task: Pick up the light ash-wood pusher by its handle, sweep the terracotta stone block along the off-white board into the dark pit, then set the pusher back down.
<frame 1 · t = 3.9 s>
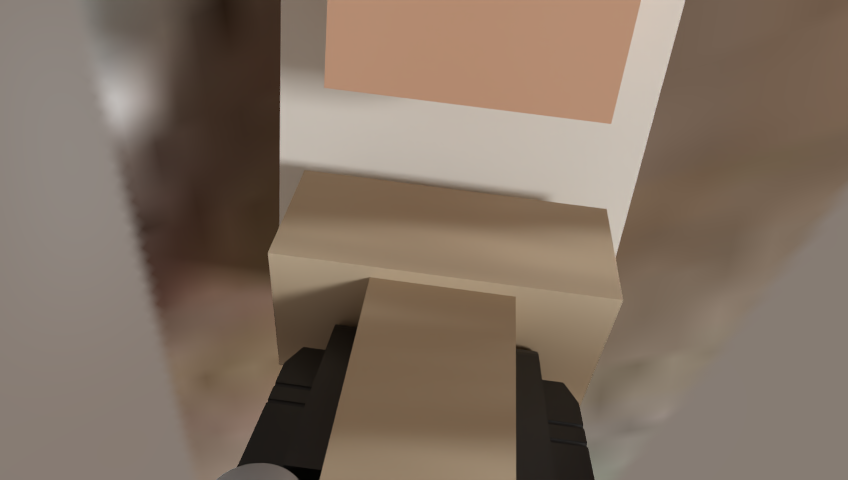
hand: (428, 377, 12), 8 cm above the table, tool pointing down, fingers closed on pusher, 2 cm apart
pusher: (446, 246, 14), point 6 cm above the table, tilted 14°, touching gripper
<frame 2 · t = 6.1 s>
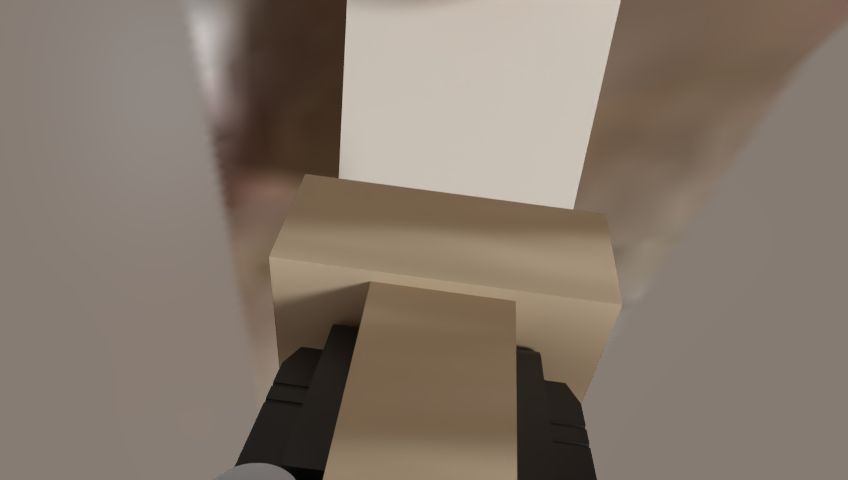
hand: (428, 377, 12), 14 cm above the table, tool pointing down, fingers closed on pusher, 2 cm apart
pusher: (446, 250, 14), point 12 cm above the table, tilted 14°, touching gripper
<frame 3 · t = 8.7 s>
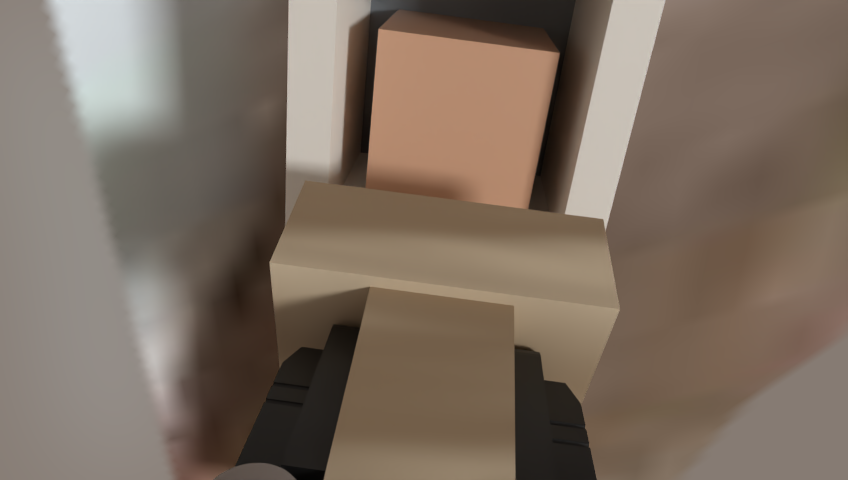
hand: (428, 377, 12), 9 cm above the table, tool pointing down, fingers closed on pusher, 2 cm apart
sweep board: (437, 255, 21), on the table
pusher: (445, 255, 14), point 6 cm above the table, tilted 14°, touching gripper
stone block: (448, 179, 18), point 2 cm above the table, tilted 90°, touching sweep board
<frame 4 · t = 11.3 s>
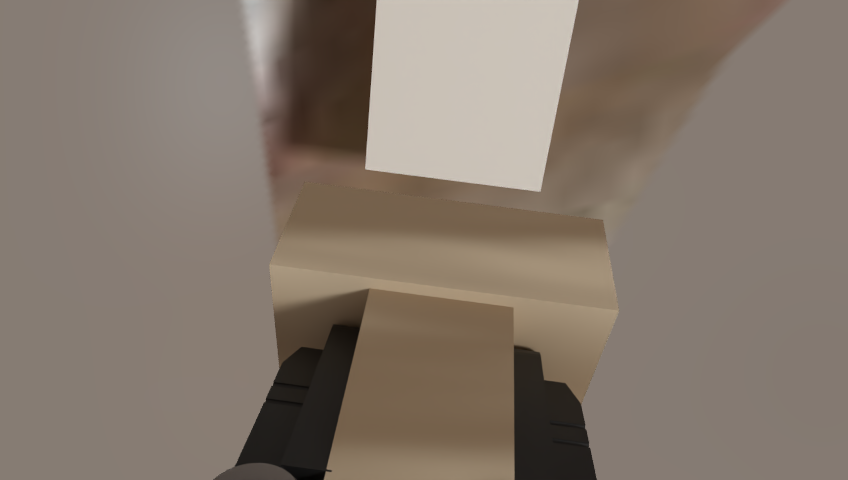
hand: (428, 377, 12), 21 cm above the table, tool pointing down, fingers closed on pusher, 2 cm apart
pusher: (445, 256, 14), point 18 cm above the table, tilted 14°, touching gripper
when the fingers open (9 cm above the table, at t = 13.6 s): pusher drops 2 cm, resting on sweep board.
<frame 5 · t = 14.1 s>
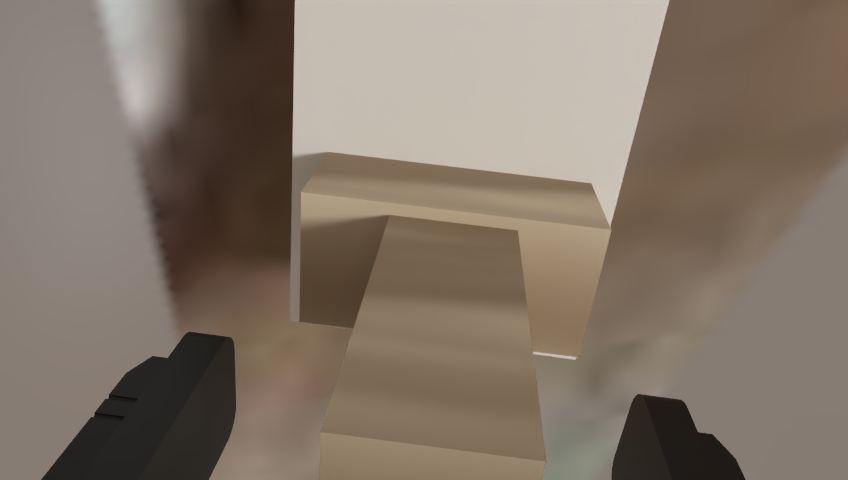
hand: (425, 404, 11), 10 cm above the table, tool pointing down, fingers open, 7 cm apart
pusher: (451, 226, 15), point 5 cm above the table, touching sweep board
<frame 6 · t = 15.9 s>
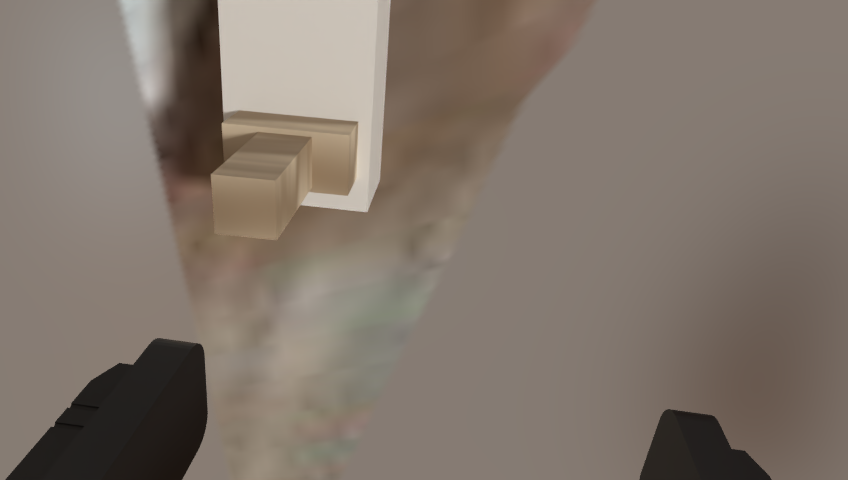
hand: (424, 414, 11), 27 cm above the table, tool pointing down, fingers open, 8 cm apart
sweep board: (320, 1, 34), on the table
pusher: (298, 144, 33), point 5 cm above the table, touching sweep board
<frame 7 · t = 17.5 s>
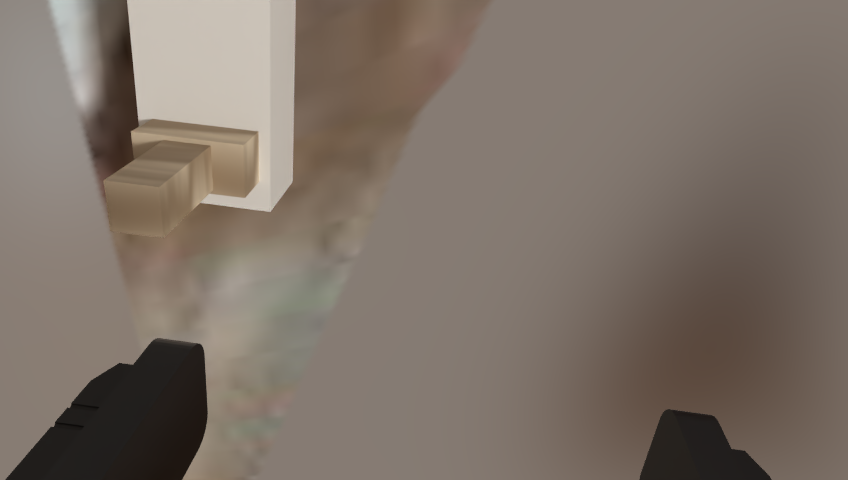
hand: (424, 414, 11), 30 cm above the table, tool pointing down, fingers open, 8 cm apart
sweep board: (232, 20, 38), on the table
pusher: (206, 150, 36), point 5 cm above the table, touching sweep board
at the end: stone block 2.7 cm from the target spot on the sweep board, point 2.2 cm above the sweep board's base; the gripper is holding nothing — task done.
